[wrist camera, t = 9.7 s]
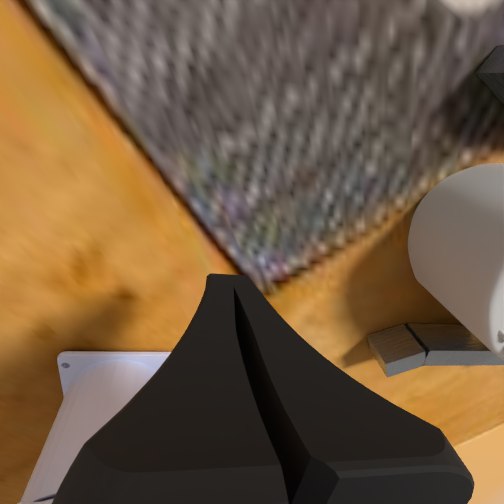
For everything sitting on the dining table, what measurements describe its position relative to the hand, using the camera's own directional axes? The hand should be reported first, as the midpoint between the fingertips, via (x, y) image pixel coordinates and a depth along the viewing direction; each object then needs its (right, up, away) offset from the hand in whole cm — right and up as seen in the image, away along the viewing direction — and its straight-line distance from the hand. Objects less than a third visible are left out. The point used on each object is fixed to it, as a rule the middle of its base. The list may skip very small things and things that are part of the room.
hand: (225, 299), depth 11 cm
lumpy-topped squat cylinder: (+17, +3, +13) cm, 22 cm away
